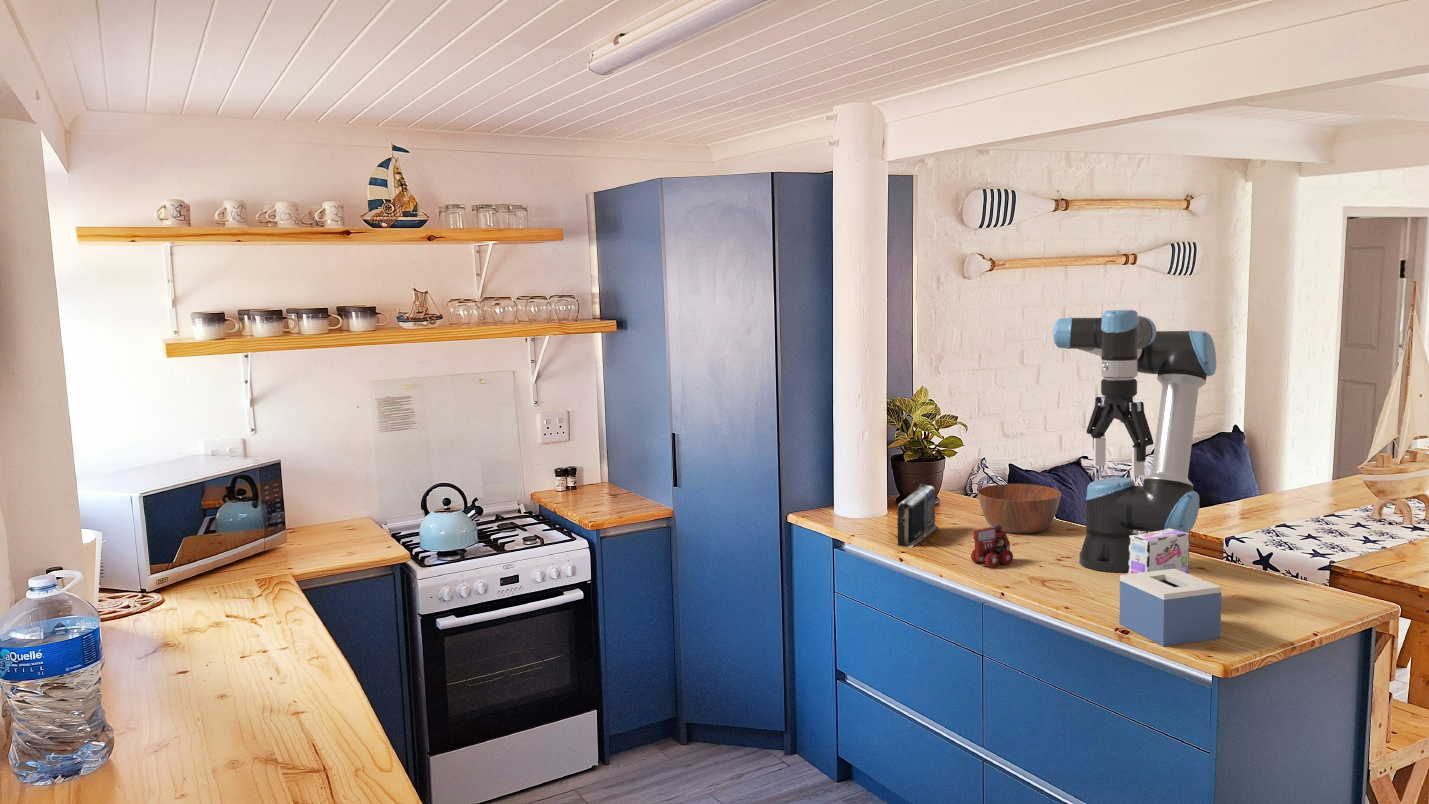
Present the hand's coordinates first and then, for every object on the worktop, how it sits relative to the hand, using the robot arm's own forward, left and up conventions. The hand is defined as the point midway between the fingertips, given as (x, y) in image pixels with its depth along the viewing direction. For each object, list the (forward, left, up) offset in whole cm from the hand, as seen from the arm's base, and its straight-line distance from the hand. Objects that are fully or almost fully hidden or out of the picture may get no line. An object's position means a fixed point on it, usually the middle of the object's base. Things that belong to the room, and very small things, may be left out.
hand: (1118, 470), depth 214 cm
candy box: (-1, +12, -33) cm, 35 cm away
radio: (-73, -15, -33) cm, 82 cm away
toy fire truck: (-42, -8, -33) cm, 54 cm away
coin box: (+16, +1, -33) cm, 36 cm away
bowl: (-73, +19, -33) cm, 82 cm away
